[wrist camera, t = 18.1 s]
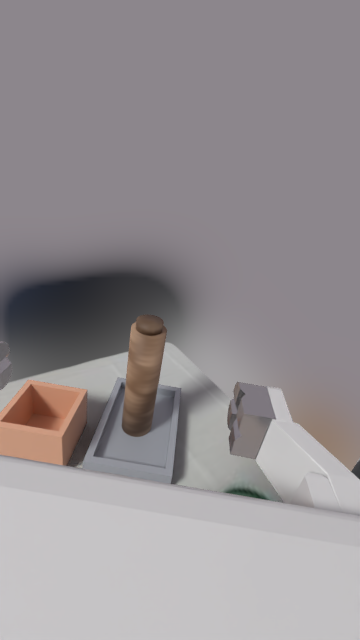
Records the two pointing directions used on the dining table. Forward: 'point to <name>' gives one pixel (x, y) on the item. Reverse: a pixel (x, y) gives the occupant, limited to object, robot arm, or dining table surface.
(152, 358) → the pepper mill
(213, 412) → the dining table surface
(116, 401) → the tray
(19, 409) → the orange open box
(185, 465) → the dining table surface
